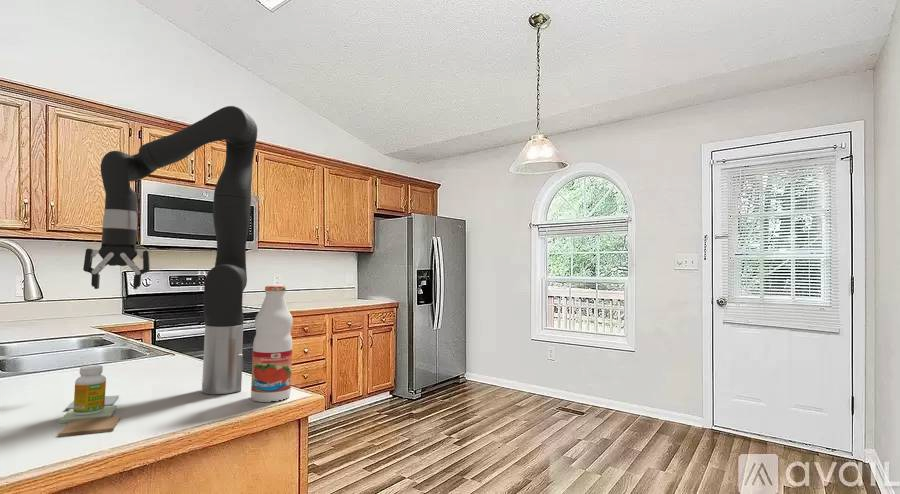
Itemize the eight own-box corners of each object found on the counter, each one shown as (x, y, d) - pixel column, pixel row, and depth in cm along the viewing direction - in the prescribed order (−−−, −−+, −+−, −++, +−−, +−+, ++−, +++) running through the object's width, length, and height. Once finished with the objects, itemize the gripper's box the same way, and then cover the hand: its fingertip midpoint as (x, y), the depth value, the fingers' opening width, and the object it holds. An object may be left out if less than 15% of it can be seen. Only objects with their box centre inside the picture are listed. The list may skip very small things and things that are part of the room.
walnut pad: (120, 418, 102) (120, 415, 102) (113, 431, 94) (113, 427, 94) (70, 423, 98) (70, 420, 98) (58, 436, 90) (58, 433, 90)
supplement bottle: (87, 416, 101) (90, 370, 101) (66, 414, 102) (69, 368, 102) (110, 409, 106) (112, 365, 106) (90, 407, 107) (92, 363, 107)
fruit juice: (288, 391, 127) (293, 285, 128) (292, 401, 118) (296, 287, 120) (250, 394, 123) (255, 285, 124) (250, 404, 114) (256, 286, 116)
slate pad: (118, 397, 117) (118, 395, 117) (112, 407, 110) (112, 404, 110) (75, 401, 114) (75, 398, 114) (65, 411, 106) (66, 408, 106)
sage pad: (116, 407, 109) (116, 405, 109) (109, 418, 102) (109, 415, 102) (70, 411, 106) (70, 409, 106) (59, 423, 98) (59, 420, 98)
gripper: (83, 225, 121) (79, 289, 120) (149, 228, 127) (146, 289, 127) (90, 227, 128) (86, 288, 127) (152, 230, 134) (149, 288, 133)
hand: (116, 288), depth 127 cm, fingers open, 8 cm apart
